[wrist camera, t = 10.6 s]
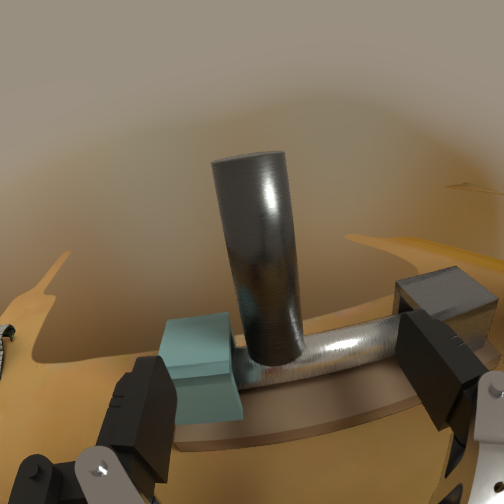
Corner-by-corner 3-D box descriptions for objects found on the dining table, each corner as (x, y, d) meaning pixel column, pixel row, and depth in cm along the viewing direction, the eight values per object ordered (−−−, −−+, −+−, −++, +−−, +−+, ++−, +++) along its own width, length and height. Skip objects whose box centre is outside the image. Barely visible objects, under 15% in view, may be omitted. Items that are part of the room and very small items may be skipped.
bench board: (443, 310, 27) (445, 299, 27) (495, 367, 18) (501, 354, 18) (190, 364, 27) (185, 353, 27) (180, 451, 18) (173, 441, 17)
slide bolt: (415, 326, 24) (426, 139, 18) (437, 352, 20) (462, 144, 14) (193, 371, 24) (135, 176, 18) (189, 407, 20) (112, 187, 14)
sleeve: (447, 310, 25) (455, 265, 23) (483, 346, 19) (498, 298, 17) (390, 327, 25) (395, 280, 23) (422, 373, 19) (435, 323, 17)
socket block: (239, 358, 25) (228, 311, 23) (243, 419, 19) (229, 372, 17) (184, 365, 25) (167, 320, 23) (175, 424, 19) (151, 380, 17)
